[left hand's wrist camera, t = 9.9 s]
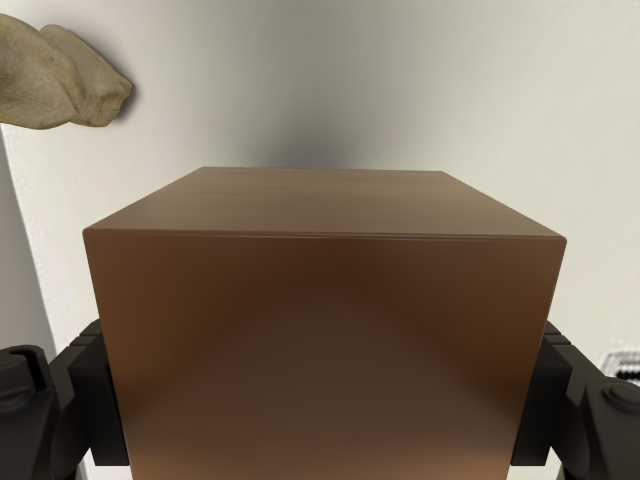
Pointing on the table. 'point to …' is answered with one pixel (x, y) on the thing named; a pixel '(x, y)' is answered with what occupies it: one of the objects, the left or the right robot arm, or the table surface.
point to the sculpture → (54, 79)
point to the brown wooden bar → (321, 324)
